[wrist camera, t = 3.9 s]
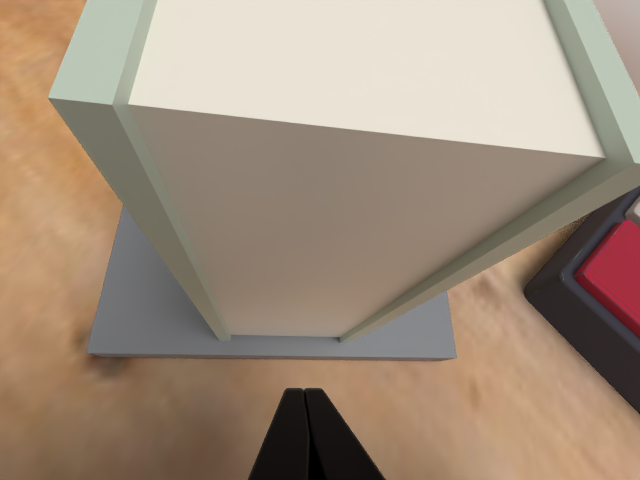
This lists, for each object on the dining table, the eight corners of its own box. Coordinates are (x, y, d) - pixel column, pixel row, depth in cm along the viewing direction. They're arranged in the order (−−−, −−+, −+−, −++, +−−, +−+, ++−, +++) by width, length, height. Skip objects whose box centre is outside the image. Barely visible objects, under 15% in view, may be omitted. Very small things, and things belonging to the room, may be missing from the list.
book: (349, 343, 14) (672, 167, 3) (219, 340, 13) (47, 96, 2) (342, 125, 18) (465, -264, 7) (244, 114, 18) (223, -335, 7)
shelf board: (439, 361, 16) (456, 358, 14) (103, 357, 14) (86, 352, 12) (402, 76, 23) (411, 56, 21) (175, 44, 21) (169, 20, 19)
